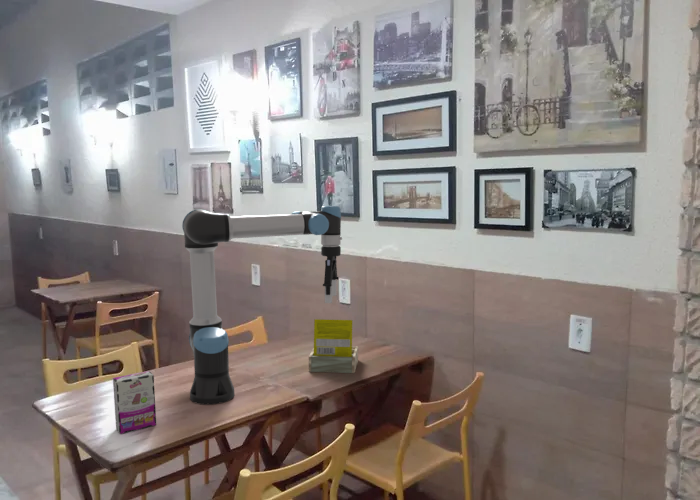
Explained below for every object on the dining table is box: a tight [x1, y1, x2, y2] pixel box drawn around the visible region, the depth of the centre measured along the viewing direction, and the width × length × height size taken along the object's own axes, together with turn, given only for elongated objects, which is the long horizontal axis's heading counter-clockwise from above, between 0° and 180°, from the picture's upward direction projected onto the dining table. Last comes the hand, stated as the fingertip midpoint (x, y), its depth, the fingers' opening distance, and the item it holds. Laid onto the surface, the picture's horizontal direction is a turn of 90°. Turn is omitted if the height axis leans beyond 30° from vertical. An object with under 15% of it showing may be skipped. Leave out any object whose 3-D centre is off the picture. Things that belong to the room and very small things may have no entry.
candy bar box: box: [112, 370, 157, 435], centre depth 180 cm, size 11×5×16 cm, turn 126°
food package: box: [313, 318, 353, 357], centre depth 235 cm, size 15×1×20 cm, turn 86°
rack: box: [308, 345, 359, 374], centre depth 240 cm, size 16×18×6 cm
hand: (330, 299), depth 231 cm, fingers open, 13 cm apart
